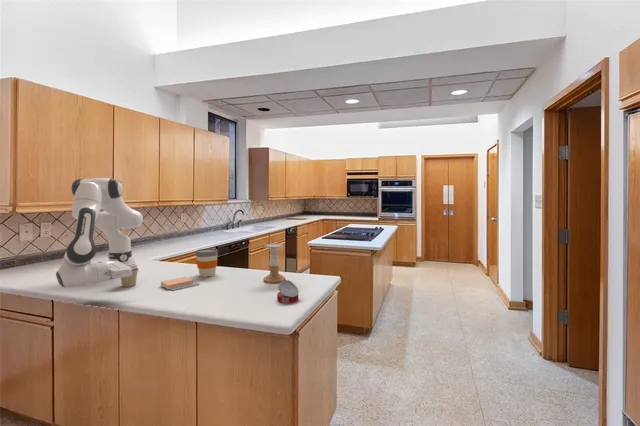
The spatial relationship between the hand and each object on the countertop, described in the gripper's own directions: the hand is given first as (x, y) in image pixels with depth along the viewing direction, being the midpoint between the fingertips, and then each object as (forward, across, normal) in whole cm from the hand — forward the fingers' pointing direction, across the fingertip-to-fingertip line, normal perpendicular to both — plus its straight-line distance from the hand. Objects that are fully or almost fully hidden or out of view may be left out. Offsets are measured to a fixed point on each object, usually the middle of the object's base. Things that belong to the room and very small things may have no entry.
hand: (136, 266), depth 156 cm
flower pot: (+2, +18, +14) cm, 23 cm away
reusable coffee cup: (+41, +7, +15) cm, 44 cm away
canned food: (+44, -62, +13) cm, 77 cm away
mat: (+21, -1, +14) cm, 25 cm away
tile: (+13, -1, +12) cm, 18 cm away
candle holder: (+61, -32, +14) cm, 70 cm away
